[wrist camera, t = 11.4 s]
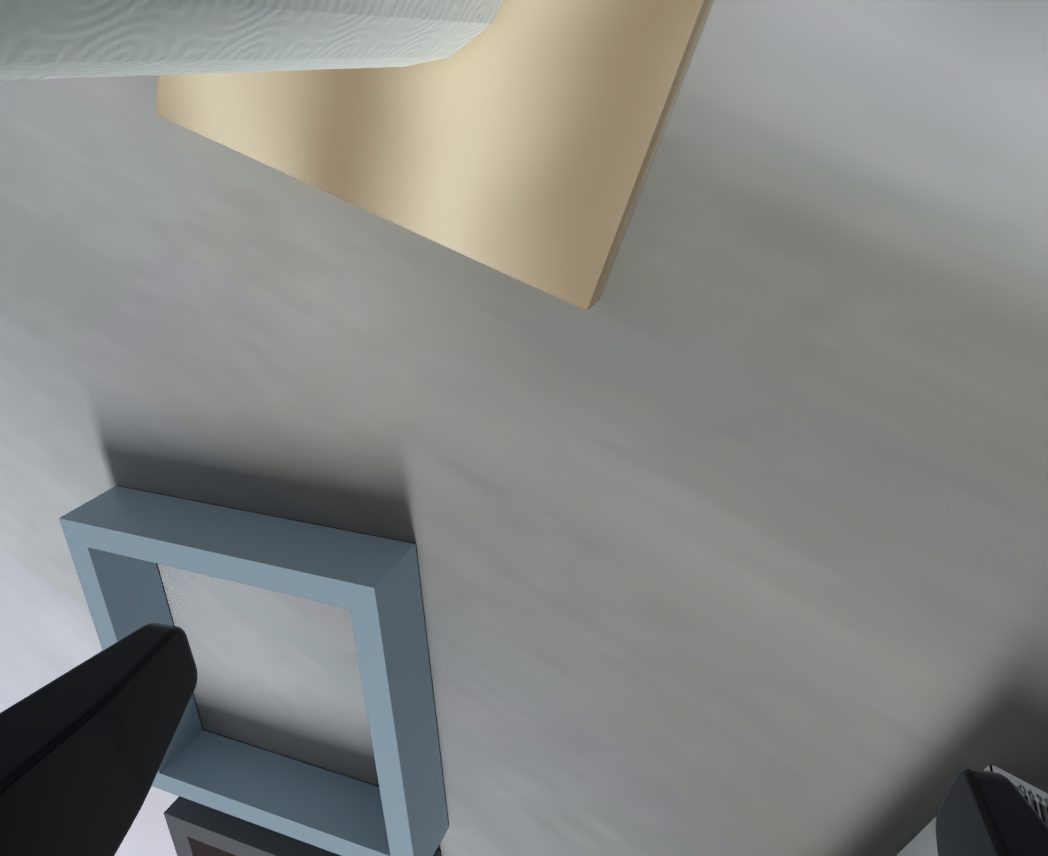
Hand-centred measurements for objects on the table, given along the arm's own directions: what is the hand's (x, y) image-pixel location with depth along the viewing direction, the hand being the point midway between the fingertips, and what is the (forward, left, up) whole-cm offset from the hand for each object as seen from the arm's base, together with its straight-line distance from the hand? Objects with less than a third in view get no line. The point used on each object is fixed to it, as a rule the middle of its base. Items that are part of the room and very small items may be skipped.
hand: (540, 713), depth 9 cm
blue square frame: (+10, +18, -12) cm, 24 cm away
